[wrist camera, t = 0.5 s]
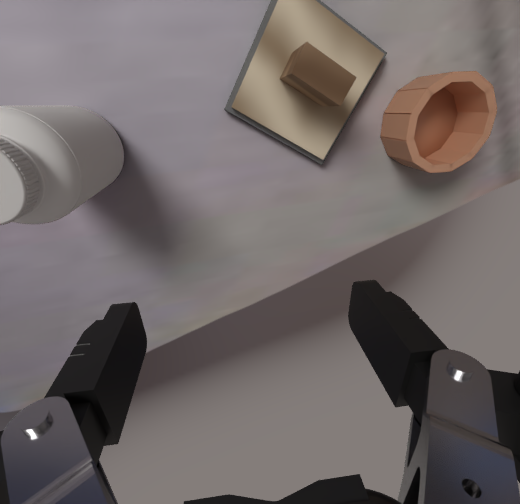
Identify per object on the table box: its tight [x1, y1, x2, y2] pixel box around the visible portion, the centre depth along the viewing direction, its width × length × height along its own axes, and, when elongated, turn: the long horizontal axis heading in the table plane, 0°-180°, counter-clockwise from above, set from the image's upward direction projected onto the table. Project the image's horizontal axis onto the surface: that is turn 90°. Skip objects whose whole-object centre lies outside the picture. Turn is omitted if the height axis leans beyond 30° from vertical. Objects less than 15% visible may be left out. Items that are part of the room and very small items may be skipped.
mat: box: [224, 0, 387, 165], centre depth 29 cm, size 12×12×1 cm
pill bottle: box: [0, 106, 124, 225], centre depth 23 cm, size 8×8×15 cm
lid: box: [232, 0, 384, 160], centre depth 26 cm, size 11×11×6 cm
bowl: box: [381, 71, 497, 173], centre depth 31 cm, size 9×9×5 cm
